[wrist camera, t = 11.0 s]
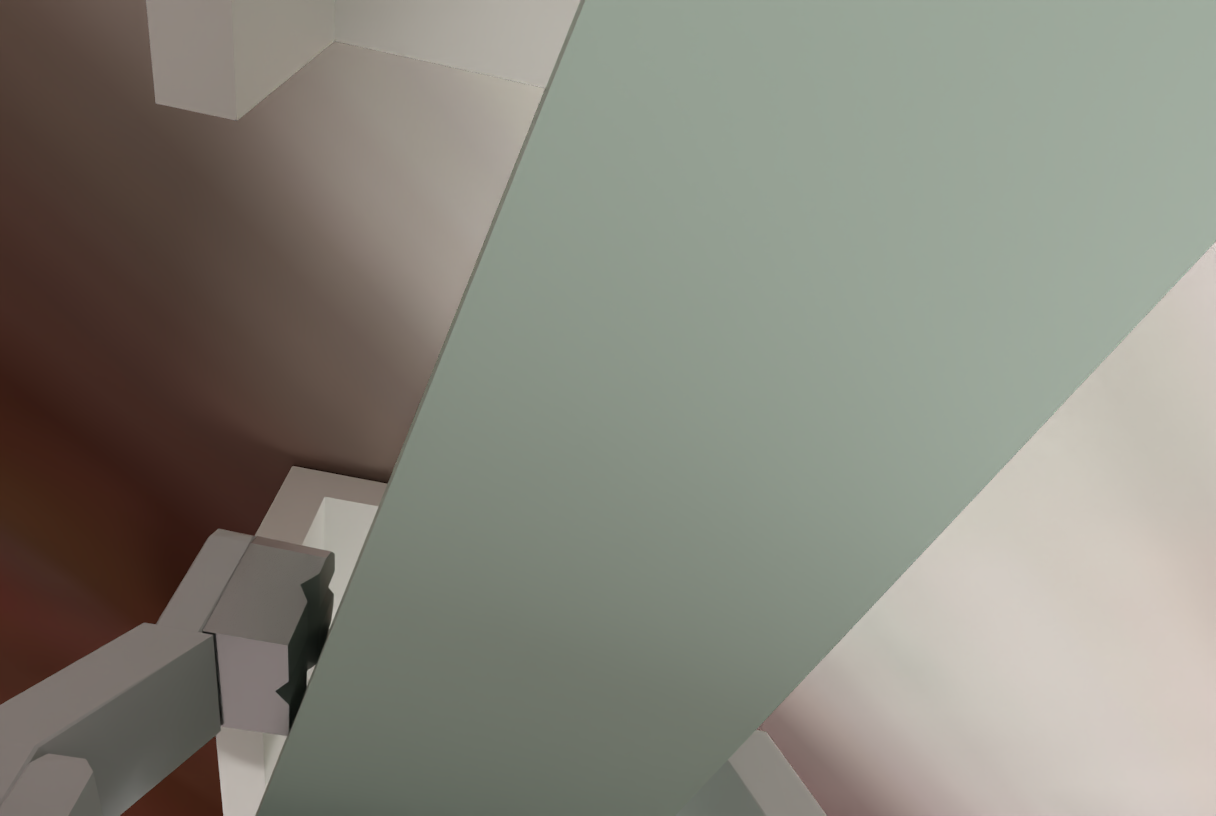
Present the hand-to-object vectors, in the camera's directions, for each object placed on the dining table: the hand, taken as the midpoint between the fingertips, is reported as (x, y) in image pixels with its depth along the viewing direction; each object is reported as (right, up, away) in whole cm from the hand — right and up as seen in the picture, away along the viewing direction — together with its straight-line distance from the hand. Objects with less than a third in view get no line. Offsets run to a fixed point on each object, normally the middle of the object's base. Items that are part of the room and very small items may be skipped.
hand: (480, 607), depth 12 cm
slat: (0, +1, +2) cm, 2 cm away
